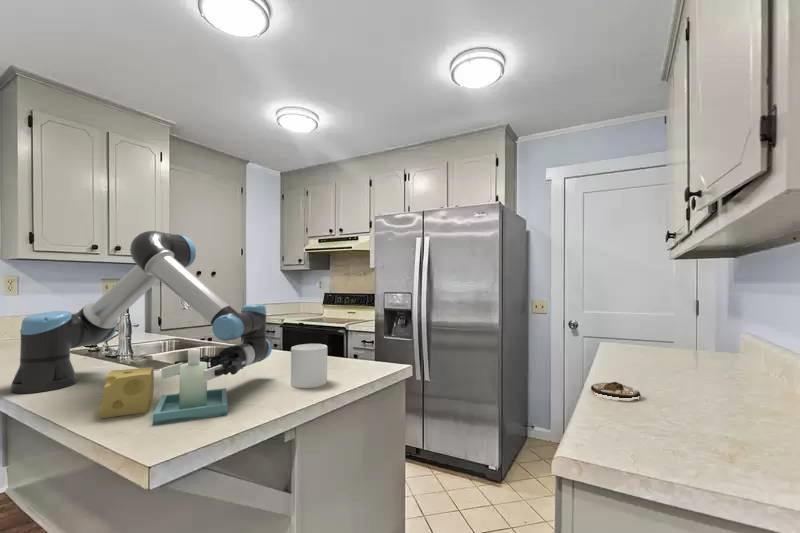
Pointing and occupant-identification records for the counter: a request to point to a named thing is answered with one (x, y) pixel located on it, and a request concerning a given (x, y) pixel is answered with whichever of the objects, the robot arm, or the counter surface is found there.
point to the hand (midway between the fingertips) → (183, 374)
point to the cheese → (127, 392)
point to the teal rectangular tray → (171, 412)
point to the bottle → (192, 381)
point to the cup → (308, 365)
